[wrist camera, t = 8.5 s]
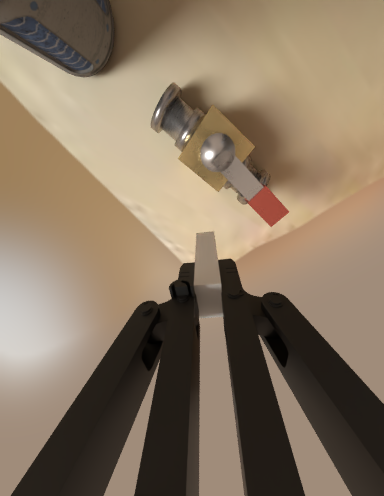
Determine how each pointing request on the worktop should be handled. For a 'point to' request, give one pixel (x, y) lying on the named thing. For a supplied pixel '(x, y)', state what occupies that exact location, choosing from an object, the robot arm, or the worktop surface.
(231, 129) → the valve pipe
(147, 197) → the worktop surface
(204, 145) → the lever
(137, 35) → the worktop surface
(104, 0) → the beverage bottle
